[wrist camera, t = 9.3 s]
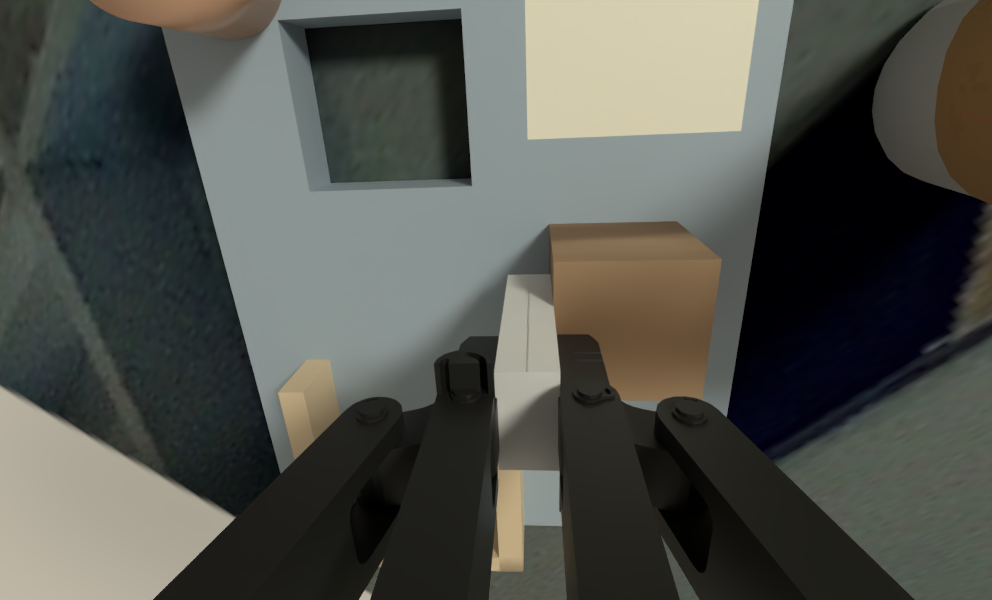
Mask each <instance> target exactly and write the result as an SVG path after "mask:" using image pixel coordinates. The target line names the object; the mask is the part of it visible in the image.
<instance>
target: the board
mask: <svg viewBox="0 0 992 600" xmlns="http://www.w3.org/2000/svg"><path fill="white" fill-rule="evenodd" d="M793 2H794V0H281V3H280V6H279V9H278V11H277V13H276V15H275V17H274V18H273V20H272V21H271V23H270V24H269V25H268V26H267V27H266V28H265V29H264V30H263V31H261V32H260V33H258V34H257V35H255V36H253V37H250V38H247V39H243V40H226V39H220V38H215V37H210V36H205V35H200V34H195V33H189V32H184V31H179V30H174V29H169V28H164V27H161V28H162V31H163V35H164V39H165V42H166V46H167V50H168V54H169V57H170V61H171V65H172V69H173V72H174V76H175V80H176V84H177V87H178V91H179V95H180V99H181V102H182V106H183V110H184V114H185V117H186V121H187V125H188V129H189V132H190V136H191V140H192V144H193V147H194V151H195V155H196V159H197V162H198V166H199V170H200V173H201V177H202V181H203V185H204V188H205V192H206V196H207V200H208V203H209V207H210V211H211V215H212V218H213V222H214V226H215V230H216V233H217V237H218V241H219V245H220V248H221V252H222V256H223V260H224V263H225V267H226V271H227V275H228V278H229V282H230V286H231V290H232V293H233V297H234V301H235V305H236V308H237V312H238V316H239V319H240V323H241V327H242V331H243V334H244V338H245V342H246V346H247V349H248V353H249V357H250V361H251V364H252V368H253V372H254V376H255V379H256V383H257V387H258V391H259V394H260V398H261V402H262V406H263V409H264V413H265V417H266V421H267V424H268V428H269V432H270V436H271V439H272V443H273V447H274V450H275V454H276V458H277V462H278V465H279V469H280V473H282V472H283V471H284V470H285V469H286V468H287V467H288V466H289V465H290V464H291V463H292V462H293V461H294V460H295V459H296V458H297V457H298V456H299V455H300V454H301V453H302V452H303V451H304V450H305V449H306V448H307V447H308V446H309V445H310V444H311V443H312V442H314V441H315V440H316V439H317V438H318V437H319V436H320V435H321V434H322V433H323V432H324V431H325V430H326V429H327V428H328V427H329V426H330V425H331V424H332V423H333V422H334V421H335V420H336V419H337V418H338V417H339V416H340V415H341V414H342V413H343V412H344V411H345V410H346V409H347V408H349V407H350V406H351V405H353V404H354V403H356V402H359V401H361V400H364V399H367V398H372V397H388V398H392V399H395V400H397V401H398V402H399V403H400V404H401V406H402V411H403V412H405V411H410V410H415V409H419V408H423V407H426V406H429V405H431V404H433V403H434V402H435V399H436V396H437V391H436V381H435V371H434V363H435V361H436V360H437V359H438V358H439V357H441V356H442V355H444V354H446V353H449V352H453V351H457V350H459V347H460V344H461V343H463V342H464V341H465V340H466V339H467V338H468V337H469V336H499V333H500V326H501V320H502V313H503V306H504V299H505V292H506V285H507V278H508V275H526V274H549V224H570V223H616V222H662V221H677V222H678V223H680V224H681V225H682V226H683V227H684V228H685V229H687V230H688V231H689V232H690V233H691V234H693V235H694V236H695V237H696V238H697V239H698V240H700V241H701V242H702V243H703V244H704V245H706V246H707V247H708V248H709V249H710V250H711V251H713V252H714V253H715V254H716V255H717V256H719V257H720V258H721V259H722V263H721V270H720V277H719V284H718V291H717V298H716V305H715V313H714V320H713V327H712V334H711V341H710V348H709V355H708V362H707V369H706V376H705V383H704V390H703V397H702V400H703V401H705V402H708V403H710V404H711V405H713V406H714V407H715V408H717V409H718V410H719V411H720V412H721V413H722V414H723V415H725V416H726V417H727V411H728V405H729V399H730V393H731V386H732V380H733V374H734V368H735V362H736V355H737V349H738V343H739V337H740V331H741V324H742V318H743V312H744V306H745V300H746V293H747V287H748V281H749V275H750V269H751V262H752V256H753V250H754V244H755V238H756V231H757V225H758V219H759V213H760V207H761V200H762V194H763V188H764V182H765V176H766V169H767V163H768V157H769V151H770V144H771V138H772V132H773V126H774V120H775V113H776V107H777V101H778V95H779V89H780V82H781V76H782V70H783V64H784V58H785V51H786V45H787V39H788V33H789V27H790V20H791V14H792V8H793ZM449 19H462V32H463V48H464V64H465V81H466V97H467V113H468V129H469V145H470V161H471V177H472V178H464V179H435V180H406V181H378V182H349V183H331V182H330V176H329V170H328V164H327V158H326V152H325V147H324V141H323V135H322V129H321V123H320V117H319V111H318V105H317V99H316V94H315V88H314V82H313V76H312V70H311V64H310V58H309V52H308V46H307V40H306V35H305V29H306V28H322V27H338V26H354V25H370V24H386V23H402V22H417V21H433V20H449ZM622 402H624V403H626V404H628V405H631V406H633V407H637V408H641V409H645V410H651V411H656V409H657V404H658V403H660V402H661V401H622ZM559 477H560V471H540V470H499V464H498V485H499V486H498V497H497V508H496V520H495V531H494V543H493V554H492V565H491V571H510V572H523V557H524V525H542V526H562V517H561V512H559ZM382 562H383V560H382ZM382 562H381V564H380V565H379V567H381V565H382Z"/></svg>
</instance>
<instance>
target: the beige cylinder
mask: <svg viewBox="0 0 992 600" xmlns="http://www.w3.org/2000/svg"><path fill="white" fill-rule="evenodd" d="M90 1H91V2H93V3H94V4H95V5H97V6H98V7H100V8H101V9H103V10H105V11H106V12H108V13H110V14H112V15H114V16H116V17H119V18H122V19H125V20H129V21H134V22H139V23H144V24H149V25H154V26H159V27H164V28H169V29H174V30H179V31H184V32H189V33H195V34H200V35H205V36H210V37H215V38H220V39H226V40H243V39H247V38H250V37H253V36H255V35H257V34H258V33H260V32H261V31H263V30H264V29H265V28H266V27H267V26H268V25H269V24H270V23H271V21H272V20H273V18H274V17H275V15H276V13H277V11H278V9H279V6H280V3H281V0H90Z"/></svg>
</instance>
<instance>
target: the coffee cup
mask: <svg viewBox="0 0 992 600" xmlns="http://www.w3.org/2000/svg"><path fill="white" fill-rule="evenodd" d="M872 116H873V122H874V129H875V133H876V135H877V137H878V140H879V142H880V144H881V146H882V147H883V149H884V151H885V153H886V155H887V157H888V158H889V159H890V160H891V161H892V162H893V163H894V164H895V165H896V166H897V167H898V168H899V169H900V170H901V171H902V172H904V173H906V174H908V175H910V176H913V177H915V178H917V179H919V180H922V181H924V182H927V183H931V184H934V185H937V186H940V187H944V188H947V189H950V190H953V191H957V192H960V193H963V194H966V195H970V196H973V197H976V198H978V199H980V200H982V201H985V202H987V203H989V204H991V205H992V0H943V1H942V2H941V3H939V4H938V5H936V6H935V7H934V8H932V9H931V10H929V11H928V12H927V13H926V14H925V15H924V16H923V17H922V18H921V19H920V20H919V21H918V22H917V23H916V24H915V25H914V26H913V28H912V29H911V30H910V31H909V32H908V33H907V34H906V35H905V36H904V37H903V38H902V39H901V40H900V41H899V42H898V44H897V45H896V47H895V49H894V50H893V52H892V53H891V55H890V56H889V58H888V59H887V61H886V63H885V64H884V66H883V69H882V71H881V74H880V77H879V79H878V82H877V84H876V87H875V91H874V99H873V107H872Z"/></svg>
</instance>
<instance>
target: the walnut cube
mask: <svg viewBox="0 0 992 600" xmlns="http://www.w3.org/2000/svg"><path fill="white" fill-rule="evenodd" d="M721 263H722V259H721V258H720V257H719V256H717V255H716V254H715V253H714V252H713V251H711V250H710V249H709V248H708V247H707V246H706V245H704V244H703V243H702V242H701V241H700V240H698V239H697V238H696V237H695V236H694V235H693V234H691V233H690V232H689V231H688V230H687V229H685V228H684V227H683V226H682V225H681V224H680V223H678V222H677V221H662V222H616V223H570V224H549V274H550V275H551V285H552V296H553V306H554V314H555V324H556V333H557V334H589V335H590V336H591V337H593V338H594V339H595V340H596V341H597V342H598V343H599V347H600V350H601V354H602V358H603V361H604V365H605V369H606V372H607V376H608V380H609V383H610V386H612V387H613V388H615V389H616V390H617V392H618V393H619V395H620V398H621V401H662V400H663V399H666V398H670V397H675V396H687V397H693V398H697V399H700V400H702V397H703V390H704V383H705V376H706V369H707V362H708V355H709V348H710V341H711V334H712V327H713V320H714V313H715V305H716V298H717V291H718V284H719V277H720V270H721Z"/></svg>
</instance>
